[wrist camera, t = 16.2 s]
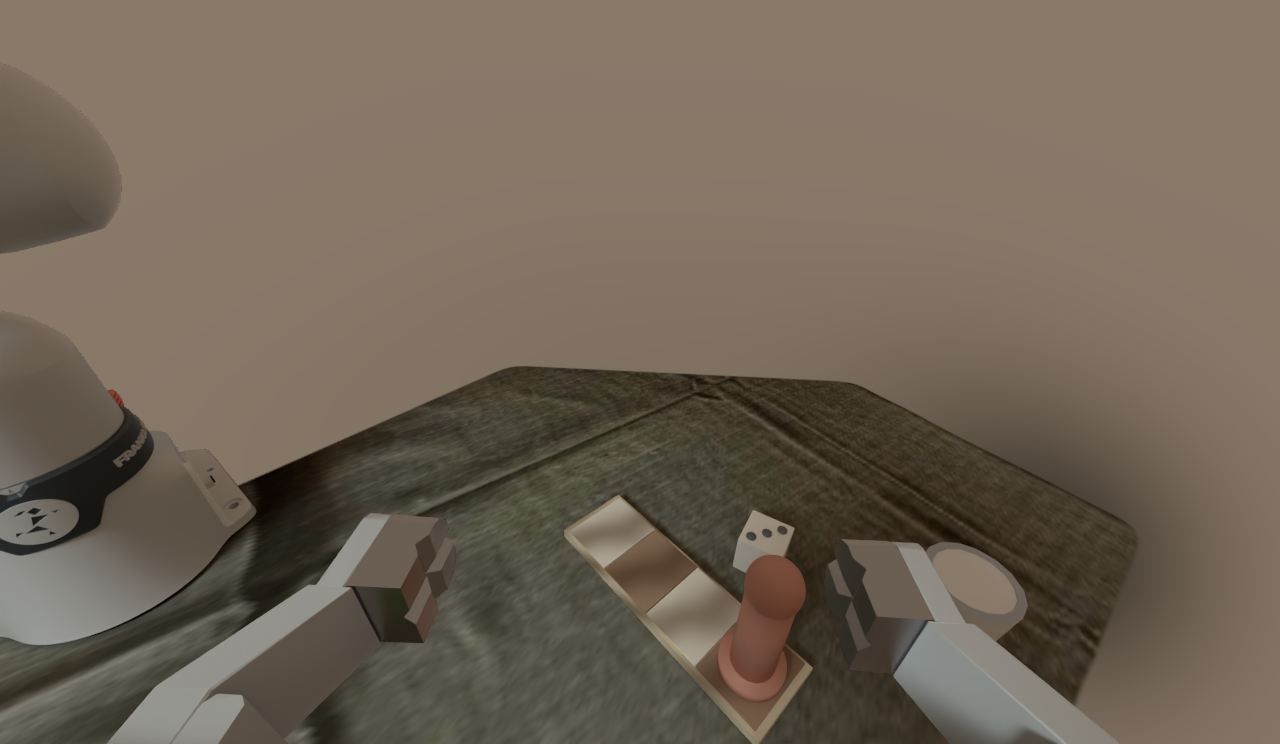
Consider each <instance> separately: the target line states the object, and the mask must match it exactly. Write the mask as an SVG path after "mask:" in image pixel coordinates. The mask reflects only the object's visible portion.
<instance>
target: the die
mask: <svg viewBox="0 0 1280 744" xmlns="http://www.w3.org/2000/svg"><path fill="white" fill-rule="evenodd" d="M794 529H795V528H793V527H791V526H789V525H786V524H784V523H782V522H780V521H777V520H775V519H773V518H771V517H768V516H766V515H764V514H762V513H759V512H757V511H755V510H753V511H752V513H751V515H750V517H749V519H748V521H747V523H746V525H745V527H744V529H743V531H742V533H741V535H740V537H739V539H738V543H737V547H736V552H735V557H734V561H733V567H735V568H737V569H739V570H741V571H743V572H745V573H746V571H747V569H748V567H749V566H750V564H751V563H752V562H753V561H754V560H756V559H757V558H759V557H761V556H764V555H779V556H782V557H784V558H785V557H786V555H787V551H788V548H789V545H790V542H791V538H792V535H793V532H794Z"/></svg>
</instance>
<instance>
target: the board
mask: <svg viewBox="0 0 1280 744" xmlns="http://www.w3.org/2000/svg"><path fill="white" fill-rule="evenodd" d="M564 533H565V538H566V539H567V540H568V541H569V542H570V543H571V544H572V545H573V546H574V548H575V549H576V550H577V551H578V552H579V553H580V554H581V555H582V556H583V557H584V559H585V560H586V561H587V562H588V563H589V564H590V565H591V566H592V567H593V568H594V570H595V571H596V572H597V573H598V574H599V575H600V576H601V577H602V578H603V580H604V581H605V582H606V583H607V584H608V585H609V586H610V587H611V588H612V589H613V591H614V592H615V593H616V594H617V595H618V596H619V597H620V598H621V599H622V601H623V602H624V603H625V604H626V605H627V606H628V607H629V608H630V609H631V610H632V612H633V613H634V614H635V615H636V616H637V617H638V618H639V619H640V620H641V621H642V623H643V624H644V625H645V626H646V627H647V628H648V629H649V630H650V631H651V633H652V634H653V635H654V636H655V637H656V638H657V639H658V640H659V641H660V642H661V644H662V645H663V646H664V647H665V648H666V649H667V650H668V651H669V652H670V654H671V655H672V656H673V657H674V658H675V659H676V660H677V661H678V662H679V663H680V665H681V666H682V667H683V668H684V669H685V670H686V671H687V672H688V673H689V675H690V676H691V677H692V678H693V679H694V680H695V681H696V682H697V683H698V684H699V686H700V687H701V688H702V689H703V690H704V691H705V692H706V693H707V694H708V695H709V697H710V698H711V699H712V700H713V701H714V702H715V703H716V704H717V705H718V707H719V708H720V709H721V710H722V711H723V712H724V713H725V714H726V715H727V716H728V718H729V719H730V720H731V721H732V722H733V723H734V724H735V725H736V726H737V728H738V729H739V730H740V731H741V732H742V733H743V734H744V735H745V736H746V737H747V739H748V740H749V741H750V742H751V743H752V744H761V742H762V741H763V739H764V738H765V737H766V735H767V734H768V732H769V731H770V730H771V728H772V727H773V725H774V724H775V723H776V721H777V720H778V718H779V717H780V716H781V714H782V713H783V711H784V710H785V709H786V707H787V706H788V704H789V703H790V702H791V700H792V699H793V697H794V696H795V695H796V693H797V692H798V691H799V689H800V688H801V686H802V685H803V684H804V682H805V681H806V679H807V678H808V677H809V675H810V673H811V671H812V669H813V667H811V666H810V665H809V664H808V663H807V662H806V661H805V660H804V659H803V658H801V657H800V656H799V655H798V654H797V653H796V652H795V651H794V650H792V649H791V648H790V647H789V646H788V645H787V644H786V643H785V645H784V648H783V652H784V654H785V658H786V662H787V674H786V678H785V681H784V683H783V686H782V688H781V690H780V692H779V693H778V694H777V695H776V696H775V697H774V698H773V699H771V700H769V701H766V702H761V703H755V702H750V701H746V700H744V699H742V698H740V697H738V696H737V695H736V694H734V693H733V692H732V691H731V690H730V689H729V688H728V687H727V685H726V684H725V682H724V681H723V679H722V677H721V675H720V672H719V669H718V663H717V657H718V651H719V646H720V642H721V640H722V638H723V636H724V635H725V634H726V632H727V631H729V630H730V629H731V628H733V627H735V626H736V623H737V619H738V615H739V611H740V607H741V603H740V602H739V601H737V600H736V599H735V598H734V597H733V596H732V595H731V594H730V593H728V592H727V591H726V590H725V589H724V588H723V587H722V586H721V585H719V584H718V583H717V582H716V581H715V580H714V579H713V578H712V577H710V576H709V575H708V574H707V573H706V572H705V571H704V570H703V569H701V568H700V567H699V566H698V565H697V564H696V563H695V562H694V561H692V560H691V559H690V558H689V557H688V556H687V555H686V554H685V553H683V552H682V551H681V550H680V549H679V548H678V547H677V546H676V545H674V544H673V543H672V542H671V541H670V540H669V539H668V538H667V537H666V536H664V535H663V534H662V533H661V532H660V531H659V530H658V529H657V528H655V527H654V526H653V525H652V524H651V523H650V522H649V521H648V520H646V519H645V518H644V517H643V516H642V515H641V514H640V513H639V512H637V511H636V510H635V509H634V508H633V507H632V506H631V505H630V504H628V503H627V502H626V501H625V500H624V499H623V498H622V497H621V496H619V495H617V496H616V497H614V498H613V499H611V500H610V501H608V502H607V503H605V504H604V505H602V506H601V507H599V508H597V509H596V510H594V511H593V512H591V513H590V514H588V515H587V516H585V517H584V518H582V519H581V520H579V521H578V522H576V523H574V524H573V525H571V526H570V527H568V528H567V529H565V530H564Z"/></svg>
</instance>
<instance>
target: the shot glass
mask: <svg viewBox="0 0 1280 744" xmlns="http://www.w3.org/2000/svg"><path fill="white" fill-rule="evenodd" d="M926 554H927V556H928V558H929V559H930V561H931V563H932V565H933V566H934V568H935V570H936V572H937V573H938V575H939V577H940V579H941V580H942V582H943V584H944V586H945V587H946V589H947V591H948V592H949V594H950V596H951V598H952V599H953V601H954V603H955V605H956V606H957V608H958V610H959V612H960V613H961V615H962V617H963V619H964V620H965V622H966V623H968V624H975V625H976V626H977V627H979V628H980V629H981V630H982V631H983V632H985V633H986V634H987V635H988V636H990V637H991V638H992V639H993V640H994V641H997V640H998V639H999V638H1000V637H1001V636H1003V635H1004V634H1005V633H1006V632H1007V631H1009V630H1010V629H1011V628H1012V627H1013V626H1014V625H1016V624H1017V623H1018V622H1019V621H1020V620H1022V619H1023V618H1024V615H1025V612H1026V610H1027V607H1028V604H1027V601H1026V597H1025V593H1024V590H1023V589H1022V587H1021V586H1020V585H1019V583H1018V582H1017V580H1016V579H1015V578H1014V576H1013V575H1012V574H1011V573H1010V572H1009V571H1008V570H1007V569H1006V568H1004V567H1003V566H1002V565H1001V564H1000V563H999V562H997V561H996V560H995V559H993V558H991V557H990V556H988V555H986V554H984V553H983V552H981V551H979V550H977V549H975V548H972V547H969V546H966V545H963V544H960V543H949V542H940V543H938V544H935V545H932V546H930V547H929V548H928V550H927V551H926Z"/></svg>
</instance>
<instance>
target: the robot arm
mask: <svg viewBox="0 0 1280 744" xmlns="http://www.w3.org/2000/svg"><path fill="white" fill-rule="evenodd" d="M121 192H122V185H121V175H120V171H119V167H118V164H117V162H116V159H115V157H114V155H113V153H112V151H111V149H110V147H109V145H108V144H107V142H106V141H105V139H104V138H103V136H102V135H101V134H100V132H99V131H98V130H97V129H96V127H95V126H94V125H93V124H92V123H91V122H90V121H89V120H88V119H87V118H86V117H85V116H84V115H83V114H82V113H81V112H80V111H79V110H78V109H77V108H76V107H75V106H73V105H72V104H71V103H70V102H69V101H68V100H66V99H65V98H63V97H62V96H61V95H59V94H58V93H57V92H55V91H54V90H53V89H51V88H49V87H48V86H46V85H45V84H43V83H42V82H40V81H38V80H37V79H35V78H33V77H31V76H30V75H28V74H26V73H24V72H22V71H21V70H19V69H17V68H14V67H12V66H9V65H6V64H3V63H0V254H1V253H10V252H17V251H20V250H25V249H29V248H33V247H37V246H41V245H45V244H49V243H53V242H57V241H61V240H65V239H68V238H72V237H76V236H79V235H83V234H86V233H90V232H94V231H97V230H100V229H103V228H105V227H106V226H107V225H108V223H110V221H111V220H112V218H113V217H114V215H115V213H116V211H117V209H118V206H119V203H120V199H121ZM255 514H256V508H255V507H254V506H253V504H252V503H251V502H250V501H249V499H248V498H247V497H246V496H245V494H244V493H243V492H242V491H241V489H240V488H239V487H238V486H237V484H236V483H235V482H234V481H233V480H232V478H231V477H230V476H229V474H228V473H227V472H226V471H225V470H224V468H223V467H222V466H221V464H220V463H219V462H218V461H217V459H216V458H215V457H214V456H213V455H212V454H211V453H210V451H208V450H206V449H201V450H190V451H184V452H179V450H178V449H177V447H176V446H175V444H174V443H173V441H172V440H171V438H170V437H169V436H168V434H166V433H165V432H161V431H148V430H147V429H146V427H145V425H144V423H143V422H142V421H141V420H140V419H139V418H138V417H137V416H136V415H134V414H132V413H131V412H130V411H129V409H127V408H125V407H124V404H123V401H122V399H121V398H120V396H119V395H118V393H117V392H116V391H114V390H108V391H107V389H106V388H105V387H104V385H103V384H102V382H101V381H100V380H99V378H98V377H97V375H96V374H95V373H94V372H93V370H92V369H91V367H90V366H89V364H88V363H87V362H86V360H85V359H84V357H83V356H82V355H81V353H80V352H79V351H78V349H77V348H76V346H75V345H74V344H73V342H72V341H71V340H70V339H69V338H68V337H66V336H65V335H64V334H62V333H60V332H59V331H57V330H56V329H54V328H52V327H50V326H48V325H46V324H44V323H42V322H40V321H37V320H35V319H32V318H30V317H26V316H23V315H20V314H15V313H11V312H5V311H0V637H7V638H11V639H13V640H16V641H19V642H21V643H25V644H32V645H49V644H57V643H64V642H68V641H73V640H77V639H81V638H84V637H87V636H91V635H94V634H96V633H99V632H102V631H105V630H107V629H110V628H112V627H115V626H117V625H119V624H121V623H124V622H126V621H128V620H130V619H132V618H134V617H136V616H138V615H140V614H141V613H143V612H145V611H147V610H149V609H150V608H152V607H154V606H155V605H157V604H159V603H160V602H162V601H163V600H165V599H166V598H168V597H169V596H171V595H172V594H174V593H175V592H177V591H178V590H179V589H181V588H182V587H183V586H184V585H186V584H187V583H188V582H189V581H191V580H192V579H193V578H194V577H195V576H196V575H198V574H199V573H200V572H201V571H202V570H203V569H204V568H205V567H206V566H207V565H208V564H209V562H210V561H211V560H212V559H213V558H214V557H215V555H216V554H217V553H218V551H219V550H220V549H221V547H222V546H223V544H224V543H225V542H226V541H227V540H228V538H229V537H230V536H231V535H233V534H234V533H235V532H236V531H238V530H239V529H240V528H241V527H243V526H244V525H245V524H246V523H247V522H249V521H250V520H251V519H252V518H253V517H254V515H255ZM448 531H449V527H448V524H447V521H446V519H442V518H430V517H418V516H406V515H393V514H378V513H371V514H369V515H368V516H367V517H365V518H364V519H363V520H362V521H361V522H360V524H359V525H358V527H357V528H356V530H355V531H354V532H353V534H352V535H351V537H350V538H349V539H348V541H347V542H346V544H345V545H344V546H343V548H342V549H341V551H340V552H339V554H338V555H337V556H336V558H335V559H334V561H333V562H332V563H331V565H330V566H329V568H328V569H327V571H326V572H325V573H324V575H323V576H322V578H321V579H320V580H319V582H318V583H317V585H308V586H306V587H305V588H303V589H302V590H300V591H299V592H297V593H296V594H294V595H293V596H291V597H290V598H288V599H287V600H285V601H284V602H282V603H281V604H279V605H278V606H276V607H274V608H273V609H271V610H270V611H268V612H267V613H265V614H264V615H262V616H261V617H259V618H258V619H256V620H255V621H253V622H252V623H250V624H249V625H247V626H246V627H244V628H243V629H241V630H240V631H238V632H237V633H235V634H234V635H232V636H231V637H229V638H228V639H226V640H225V641H223V642H222V643H220V644H219V645H217V646H216V647H214V648H213V649H211V650H210V651H208V652H207V653H205V654H204V655H202V656H201V657H199V658H198V659H196V660H195V661H193V662H192V663H190V664H189V665H187V666H186V667H184V668H183V669H181V670H180V671H178V672H177V673H175V674H174V675H172V676H171V677H169V678H168V679H166V680H165V681H163V682H162V683H160V684H159V685H157V686H156V687H155V688H154V689H153V690H152V691H151V692H150V694H149V695H148V696H147V697H146V698H145V699H144V701H143V702H142V703H141V704H140V705H139V707H138V708H137V709H136V710H135V711H134V712H133V714H132V715H131V716H130V717H129V718H128V719H127V721H126V722H125V723H124V724H123V725H122V726H121V728H120V729H119V730H118V731H117V732H116V733H115V735H114V736H113V737H112V738H111V739H110V740H109V742H108V743H107V744H288V743H287V742H286V741H285V740H284V738H285V737H286V736H287V735H288V734H289V733H290V732H291V731H293V730H294V729H295V728H296V727H297V726H298V725H299V724H300V723H301V722H302V721H303V720H304V719H305V718H306V717H307V716H308V715H309V714H310V713H311V712H312V711H313V710H314V709H315V708H316V707H317V706H318V705H319V704H320V703H321V702H322V701H323V700H324V699H325V698H327V697H328V696H329V695H330V694H331V693H332V692H333V691H334V690H335V689H336V688H337V687H338V686H339V685H340V684H341V683H342V682H343V681H344V680H345V679H346V678H347V677H348V676H349V675H350V674H351V673H352V672H353V671H354V670H355V669H356V668H357V667H358V666H359V665H361V664H362V663H363V662H364V661H365V660H366V659H367V658H368V657H369V656H370V655H371V654H372V653H373V652H374V651H375V650H376V649H377V648H378V647H379V646H380V645H381V643H380V642H403V643H424V641H425V639H426V637H427V635H428V632H429V630H430V628H431V625H432V623H433V621H434V619H435V616H436V614H437V612H438V607H437V604H436V600H435V599H436V598H437V597H439V596H440V595H441V594H442V593H443V592H445V591H446V590H447V589H448V586H449V584H450V582H451V579H452V577H453V573H454V568H455V563H456V550H455V547H454V543H453V542H451V541H450V540H449V539H448V538H446V535H447V533H448ZM833 551H834V554H835V556H836V559H835V560H834V561H832V562H831V563H829V564H828V566H827V569H826V572H825V576H824V589H825V595H826V600H827V604H828V607H829V610H830V612H831V613H832V614H833V615H834V616H835V617H836V618H837V619H838V620H839V621H840V622H841V625H840V628H839V630H838V633H837V636H838V639H839V642H840V645H841V648H842V651H843V654H844V657H845V660H846V664H847V667H848V670H859V671H871V672H882V673H893V674H894V675H893V677H894V678H895V679H896V680H897V681H898V683H899V684H900V685H901V686H902V687H903V689H904V690H905V691H906V692H907V693H908V695H909V696H910V697H911V698H912V699H913V701H914V702H915V703H916V704H917V705H918V706H919V708H920V709H921V710H922V711H923V712H924V714H925V715H926V716H927V717H928V718H929V720H930V721H931V722H932V723H933V724H934V726H935V727H936V728H937V729H938V730H939V732H940V733H941V734H942V735H943V736H944V738H945V739H946V740H947V741H948V742H949V743H950V744H1120V743H1119V742H1117V741H1116V740H1115V739H1114V738H1113V737H1111V736H1110V735H1109V734H1108V733H1106V732H1105V731H1104V730H1103V729H1102V728H1100V727H1099V726H1098V725H1097V724H1095V723H1094V722H1093V721H1092V720H1090V719H1089V718H1088V717H1087V716H1086V715H1085V714H1083V713H1082V712H1081V711H1080V710H1078V709H1077V708H1076V707H1075V706H1074V705H1072V704H1071V703H1070V702H1069V701H1068V700H1066V699H1065V698H1064V697H1063V696H1061V695H1060V694H1059V693H1058V692H1057V691H1055V690H1054V689H1053V688H1052V687H1050V686H1049V685H1048V684H1047V683H1046V682H1044V681H1043V680H1042V679H1041V678H1039V677H1038V676H1037V675H1036V674H1035V673H1033V672H1032V671H1031V670H1030V669H1029V668H1027V667H1026V666H1025V665H1024V664H1022V663H1021V662H1020V661H1019V660H1018V659H1016V658H1015V657H1014V656H1013V655H1011V654H1010V653H1009V652H1008V651H1007V650H1005V649H1004V648H1003V647H1002V646H1000V645H999V644H998V643H997V642H996V641H994V640H993V639H992V638H991V637H990V636H988V635H987V634H986V633H985V632H983V631H982V630H981V629H980V628H979V627H977V626H976V625H975V624H968V623H966V622H965V620H964V619H963V617H962V615H961V613H960V612H959V610H958V608H957V606H956V605H955V603H954V601H953V599H952V598H951V596H950V594H949V592H948V591H947V589H946V587H945V586H944V584H943V582H942V580H941V579H940V577H939V575H938V573H937V572H936V570H935V568H934V566H933V565H932V563H931V561H930V559H929V558H928V556H927V554H926V552H925V551H924V549H923V548H922V547H921V546H920V545H919V544H918V543H904V542H889V541H873V540H848V539H841V540H839V541H838V542H837V543H836V545H835V548H834V550H833Z"/></svg>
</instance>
